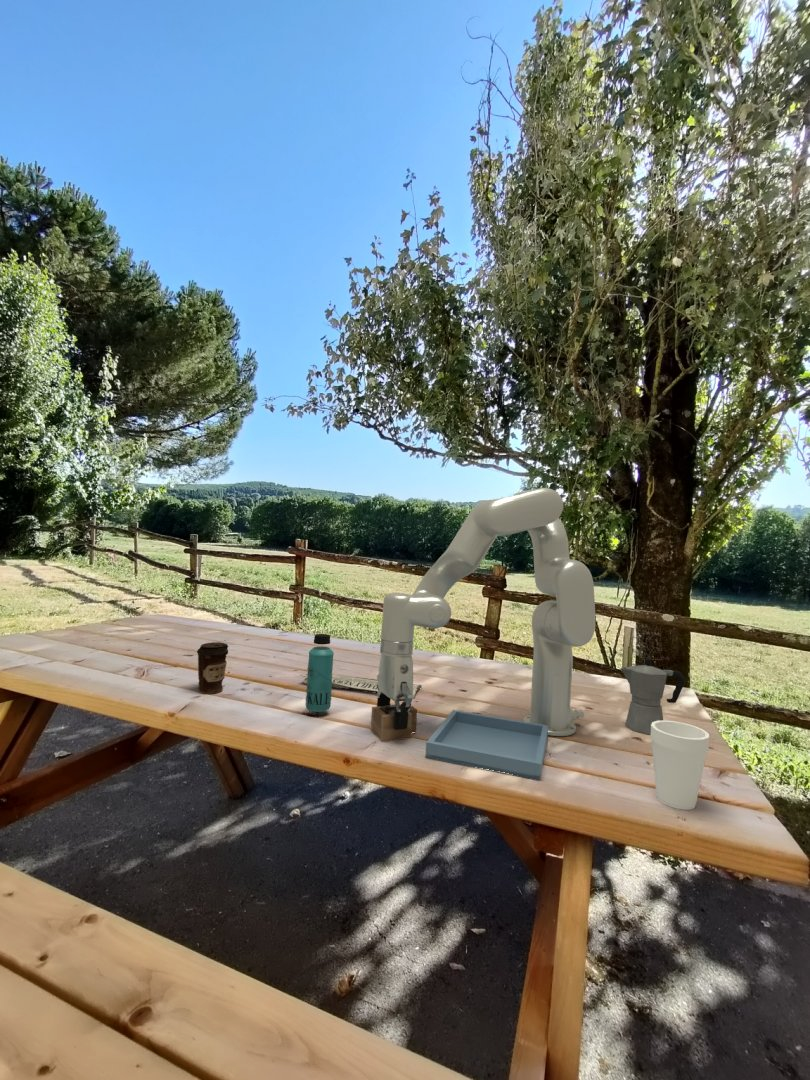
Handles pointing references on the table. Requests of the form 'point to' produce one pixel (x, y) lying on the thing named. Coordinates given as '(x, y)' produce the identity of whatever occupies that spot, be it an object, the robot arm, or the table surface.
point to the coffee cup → (211, 666)
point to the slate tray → (490, 743)
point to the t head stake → (390, 708)
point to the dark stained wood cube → (391, 724)
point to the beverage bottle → (319, 675)
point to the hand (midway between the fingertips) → (391, 721)
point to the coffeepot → (648, 694)
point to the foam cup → (678, 762)
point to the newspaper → (358, 683)
